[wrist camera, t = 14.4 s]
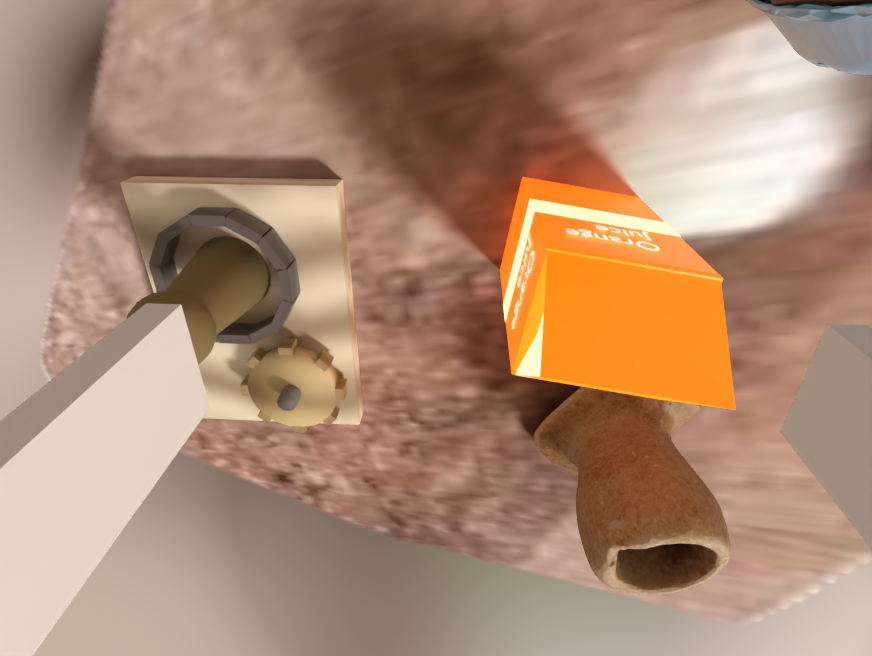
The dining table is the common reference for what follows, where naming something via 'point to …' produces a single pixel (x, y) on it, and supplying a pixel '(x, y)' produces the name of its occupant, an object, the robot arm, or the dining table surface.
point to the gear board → (285, 301)
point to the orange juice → (611, 298)
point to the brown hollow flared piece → (636, 491)
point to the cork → (215, 289)
